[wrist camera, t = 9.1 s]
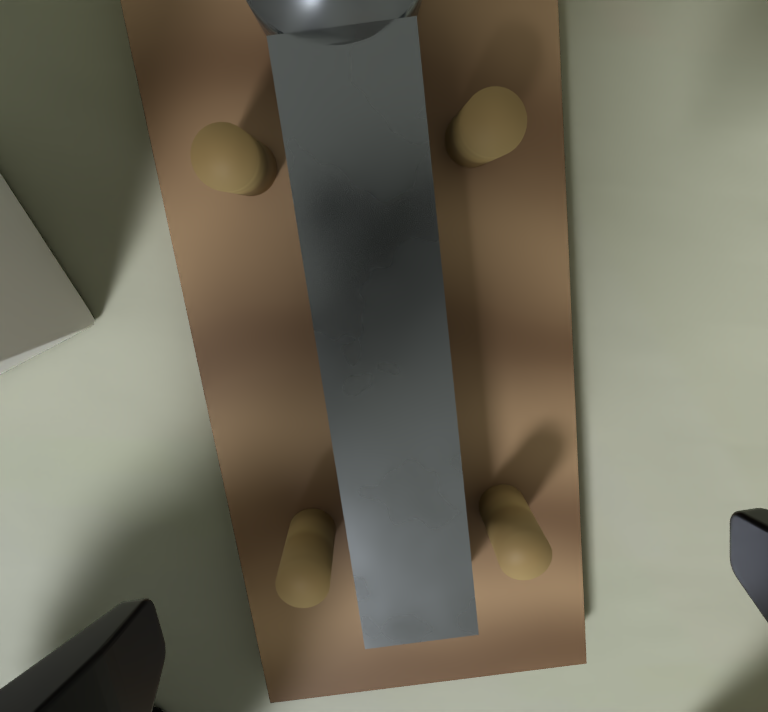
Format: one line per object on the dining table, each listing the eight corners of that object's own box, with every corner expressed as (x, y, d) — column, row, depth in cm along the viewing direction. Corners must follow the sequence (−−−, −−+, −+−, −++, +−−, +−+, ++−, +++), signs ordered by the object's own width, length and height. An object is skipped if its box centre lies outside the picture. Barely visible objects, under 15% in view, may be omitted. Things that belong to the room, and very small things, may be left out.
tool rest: (572, 634, 22) (621, 735, 18) (276, 671, 23) (254, 780, 18) (534, -122, 16) (596, -248, 12) (124, -68, 16) (33, -173, 12)
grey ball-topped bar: (480, 571, 20) (500, 632, 17) (347, 588, 20) (344, 651, 17) (412, -133, 15) (423, -219, 12) (233, -109, 15) (199, -189, 12)
